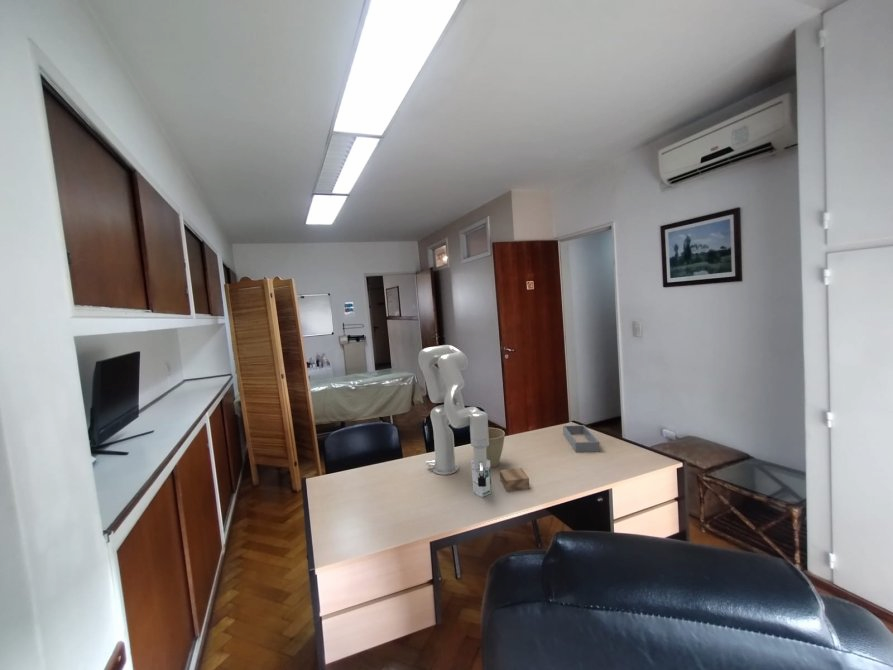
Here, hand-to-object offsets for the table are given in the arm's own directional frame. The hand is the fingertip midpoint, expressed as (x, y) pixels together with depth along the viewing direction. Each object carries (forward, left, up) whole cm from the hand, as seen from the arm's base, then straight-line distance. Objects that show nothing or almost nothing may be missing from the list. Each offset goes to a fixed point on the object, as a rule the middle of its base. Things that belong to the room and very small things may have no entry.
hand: (481, 480), depth 159 cm
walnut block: (+14, +6, -6) cm, 16 cm away
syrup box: (0, 0, -6) cm, 6 cm away
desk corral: (+55, +51, -5) cm, 75 cm away
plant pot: (+5, +27, -6) cm, 28 cm away
